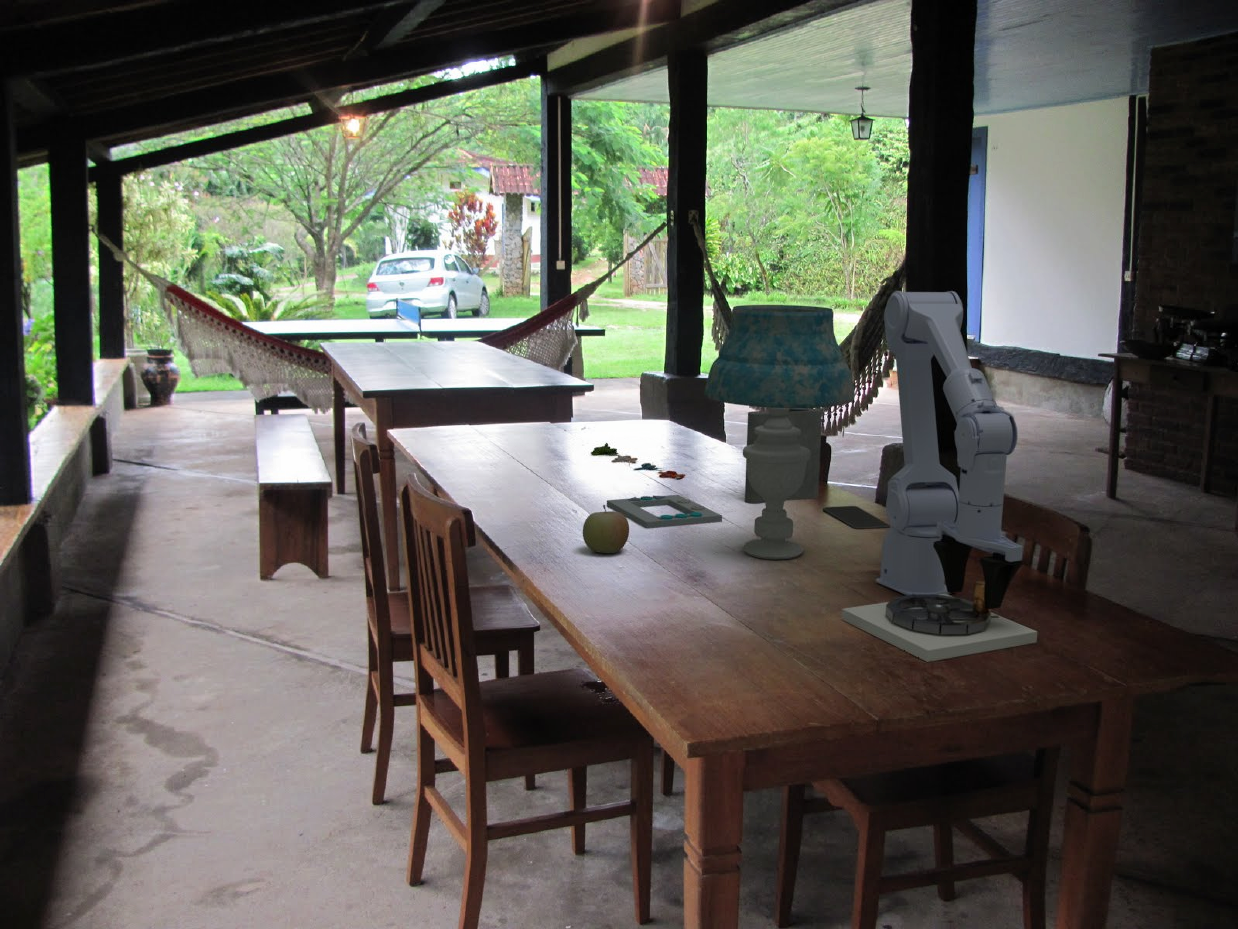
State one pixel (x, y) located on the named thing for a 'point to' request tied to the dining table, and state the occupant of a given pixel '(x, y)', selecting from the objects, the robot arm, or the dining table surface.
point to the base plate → (938, 645)
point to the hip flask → (808, 438)
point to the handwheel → (941, 612)
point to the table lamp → (779, 401)
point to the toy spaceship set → (607, 451)
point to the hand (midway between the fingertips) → (973, 599)
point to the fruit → (606, 531)
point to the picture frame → (647, 520)
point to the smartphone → (855, 517)
